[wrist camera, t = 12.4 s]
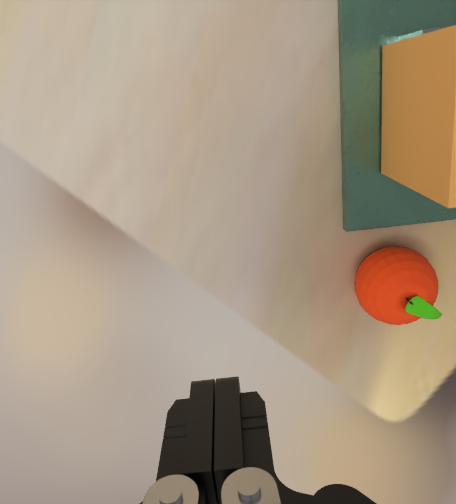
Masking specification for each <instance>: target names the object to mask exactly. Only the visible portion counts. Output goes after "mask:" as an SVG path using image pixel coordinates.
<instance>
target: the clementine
mask: <svg viewBox="0 0 456 504" xmlns="http://www.w3.org/2000/svg"><path fill="white" fill-rule="evenodd" d="M355 292H356V295H357V298H358V300H359V303H360V305H361V306H362V307H363V309H364V310H365V311H366V312H367V313H368V314H369V315H371V316H372V317H373V318H375V319H376V320H379V321H382V322H385V323H388V324H394V325H402V324H408V323H411V322H413V321H416V320H418V319H419V318H421V317H422V318H427V319H438V318H439V317H440V316H441V315H442V313H441V312H439V311H438V310H437V309H435V308H434V307H433V304H434V303H435V301H436V298H437V294H438V279H437V276H436V273H435V270H434V269H433V267H432V266H431V264H430V263H429V262H428V260H427V259H426V258H425V257H423V256H422V255H421V254H419V253H418V252H415V251H413V250H411V249H408V248H405V247H396V246H395V247H388V248H382V249H380V250H377V251H375V252H373V253H372V254H370V255H369V256H367V257H366V259H365V260H364V261H363V262H362V263H361V265H360V267H359V269H358V271H357V274H356V278H355Z"/></svg>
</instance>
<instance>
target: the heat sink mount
mask: <svg viewBox="0 0 456 504" xmlns="http://www.w3.org/2000/svg"><path fill="white" fill-rule="evenodd" d="M338 23H339V67H340V110H341V154H342V198H343V229H344V230H345V231H346V232H347V231H356V230H365V229H374V228H382V227H391V226H400V225H409V224H418V223H426V222H435V221H444V220H453V219H456V207H455V208H447V207H445V206H443V205H441V204H439V203H437V202H435V201H433V200H431V199H429V198H428V197H426V196H424V195H422V194H420V193H418V192H416V191H414V190H412V189H410V188H408V187H406V186H404V185H402V184H401V183H399V182H397V181H395V180H393V179H391V178H389V177H387V176H385V175H383V174H381V142H382V45H386V44H390V43H393V42H397V41H400V40H404V39H407V38H411V37H415V36H418V35H422V34H425V33H429V32H433V31H436V30H440V29H443V28H447V27H450V26H454V25H456V0H338Z"/></svg>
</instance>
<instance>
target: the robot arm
mask: <svg viewBox="0 0 456 504" xmlns="http://www.w3.org/2000/svg"><path fill="white" fill-rule="evenodd" d="M266 416H267V415H266V408H265V402H264V401H263V399H262V398H261V397H260V395H259V394H258V393H257V392H246V393H241V392H240V385H239V377H230V378H220V379H216V384H215V380H214V379H212V380H202V381H192V382H191V390H190V398H189V399H180V400H176V401H175V402H174V404H173V405H172V407H171V408H170V409H169V411H168V413H167V419H166V425H165V426H166V428H165V431H164V439H163V443H162V449H161V455H160V461H159V467H158V473H157V479H156V482H155V483H154V484H153V485H152V486H151V487H150V488H149V489H148V491H147V493H146V494H145V496H144V499H143V502H141V503H140V504H376V503H375V502H373V501H372V500H371V499H369V498H368V497H366V496H365V495H364V494H362V493H361V492H359V491H358V490H356V489H355V488H353V487H350V486H347V485H343V484H332V485H328V486H325V487H323V488H321V489H320V490H318V491H317V492H316V493H315V495H314V496H313V495H308V494H303V493H299V492H296V491H293V490H291V489H289V488H288V487H286V486H285V485H284V484H282V483H281V481H280V480H279V479H278V478H277V476H276V474H275V471H274V466H273V459H272V451H271V444H270V437H269V430H268V423H267V417H266Z"/></svg>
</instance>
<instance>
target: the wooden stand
mask: <svg viewBox="0 0 456 504" xmlns="http://www.w3.org/2000/svg"><path fill="white" fill-rule="evenodd" d="M381 174H383V175H385V176H387V177H389V178H391V179H393V180H395V181H397V182H399V183H401V184H402V185H404V186H406V187H408V188H410V189H412V190H414V191H416V192H418V193H420V194H422V195H424V196H426V197H428V198H429V199H431V200H433V201H435V202H437V203H439V204H441V205H443V206H445V207H447V208H455V207H456V25H454V26H450V27H447V28H443V29H440V30H436V31H433V32H429V33H425V34H422V35H418V36H415V37H411V38H407V39H404V40H400V41H397V42H393V43H390V44H386V45H382V142H381Z"/></svg>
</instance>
